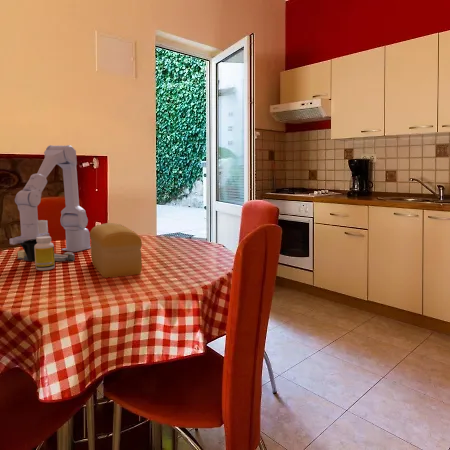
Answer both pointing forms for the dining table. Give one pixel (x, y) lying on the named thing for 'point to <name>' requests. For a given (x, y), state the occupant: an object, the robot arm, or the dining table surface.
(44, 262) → the pill bottle
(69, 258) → the dark-tipped long bar
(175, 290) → the dining table surface
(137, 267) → the bread
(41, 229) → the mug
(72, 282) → the dining table surface
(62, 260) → the tong arm
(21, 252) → the block
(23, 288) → the dining table surface
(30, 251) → the robot arm
